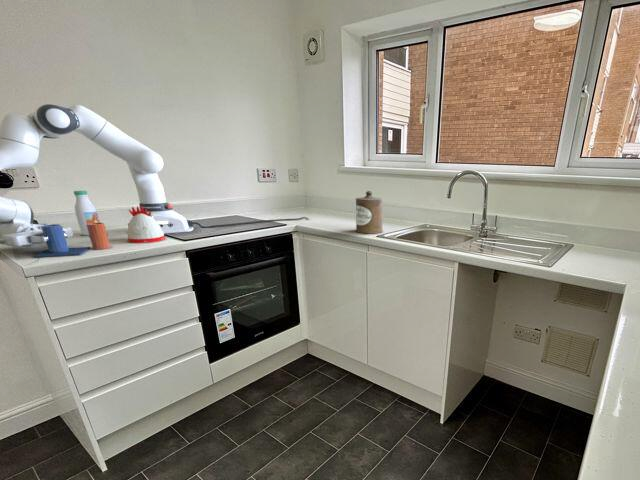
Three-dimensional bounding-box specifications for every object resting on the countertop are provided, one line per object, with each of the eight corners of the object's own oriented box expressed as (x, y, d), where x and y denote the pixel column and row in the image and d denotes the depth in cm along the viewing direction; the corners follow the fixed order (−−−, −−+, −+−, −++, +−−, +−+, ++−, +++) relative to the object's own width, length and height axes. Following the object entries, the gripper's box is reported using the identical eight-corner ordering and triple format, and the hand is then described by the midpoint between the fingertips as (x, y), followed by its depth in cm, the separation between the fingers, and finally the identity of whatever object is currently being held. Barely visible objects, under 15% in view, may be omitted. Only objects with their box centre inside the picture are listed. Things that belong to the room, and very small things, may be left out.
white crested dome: (133, 237, 165) (125, 204, 159) (167, 236, 170) (160, 204, 164) (124, 243, 153) (115, 208, 147) (161, 242, 158) (153, 208, 152)
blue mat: (90, 248, 143) (89, 246, 143) (79, 255, 133) (79, 253, 133) (48, 250, 138) (48, 249, 138) (34, 257, 128) (34, 256, 128)
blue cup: (71, 249, 138) (63, 224, 135) (66, 252, 133) (57, 226, 130) (53, 250, 136) (44, 224, 132) (46, 253, 131) (37, 226, 128)
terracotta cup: (112, 246, 148) (105, 222, 144) (108, 249, 143) (101, 224, 139) (95, 246, 146) (88, 222, 142) (91, 249, 141) (83, 224, 137)
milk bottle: (82, 236, 163) (68, 191, 155) (81, 233, 168) (68, 190, 161) (103, 234, 167) (91, 191, 160) (102, 232, 173) (90, 190, 166)
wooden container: (351, 230, 200) (350, 190, 192) (371, 228, 209) (371, 189, 201) (366, 234, 190) (366, 192, 182) (387, 232, 199) (388, 191, 191)
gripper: (-10, 231, 124) (21, 234, 122) (52, 223, 143) (81, 225, 141) (-4, 249, 126) (28, 251, 124) (57, 238, 145) (85, 240, 143)
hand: (56, 237), depth 133 cm, fingers closed on blue cup, 6 cm apart
